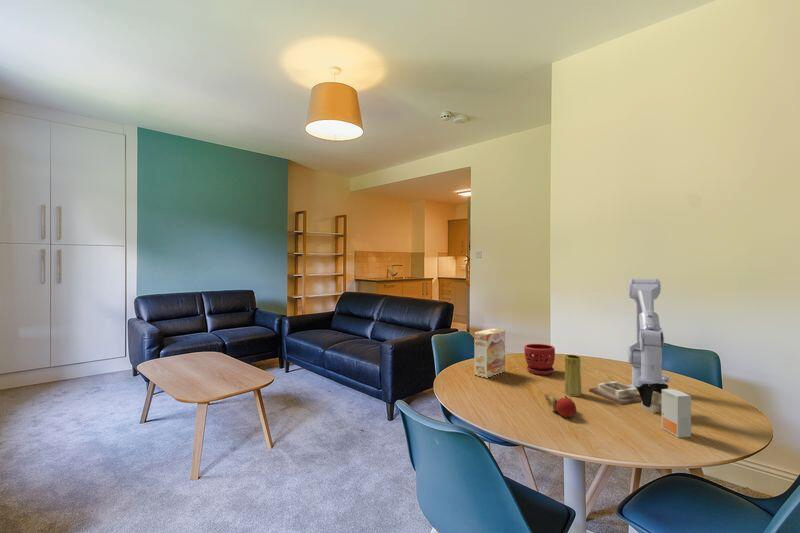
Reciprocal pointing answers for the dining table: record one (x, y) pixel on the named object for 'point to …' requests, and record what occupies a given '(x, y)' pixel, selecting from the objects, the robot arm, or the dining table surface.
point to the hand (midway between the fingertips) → (651, 405)
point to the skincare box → (676, 412)
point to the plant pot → (540, 358)
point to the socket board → (617, 392)
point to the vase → (572, 375)
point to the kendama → (561, 404)
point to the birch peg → (654, 403)
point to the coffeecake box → (489, 352)
